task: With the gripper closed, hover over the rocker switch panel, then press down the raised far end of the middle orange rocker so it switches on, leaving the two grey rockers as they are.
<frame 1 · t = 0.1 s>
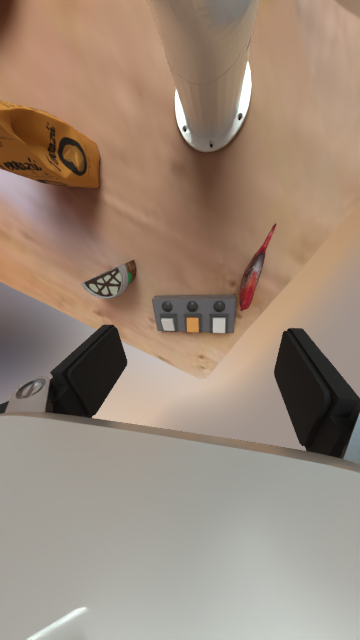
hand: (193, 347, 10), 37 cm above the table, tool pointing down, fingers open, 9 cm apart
decorative bird figurine: (250, 264, 41), on the table
rocker 1: (168, 324, 49), point 4 cm above the table, hinge at 15.0°
rocker 2: (219, 325, 46), point 4 cm above the table, hinge at -15.0°
food container: (125, 276, 49), on the table
coffee package: (77, 163, 38), on the table
middle rocker: (192, 324, 47), point 4 cm above the table, hinge at -15.0°
rocker switch panel: (194, 311, 50), on the table
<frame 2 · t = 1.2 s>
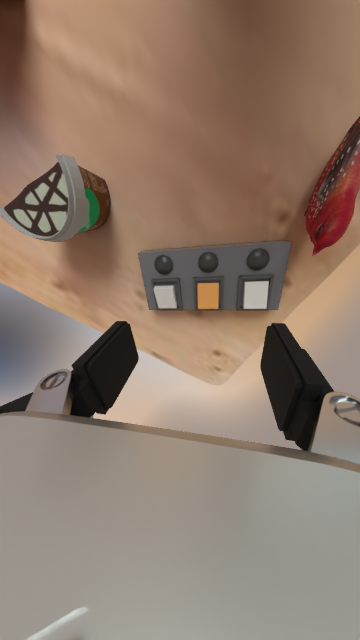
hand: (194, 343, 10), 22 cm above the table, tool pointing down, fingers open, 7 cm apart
decorative bird figurine: (323, 171, 21), on the table
rocker 1: (165, 297, 29), point 4 cm above the table, hinge at 15.0°
rocker 2: (255, 295, 26), point 4 cm above the table, hinge at -15.0°
food container: (94, 215, 29), on the table
middle rocker: (208, 295, 27), point 4 cm above the table, hinge at -15.0°
rocker switch panel: (209, 276, 30), on the table
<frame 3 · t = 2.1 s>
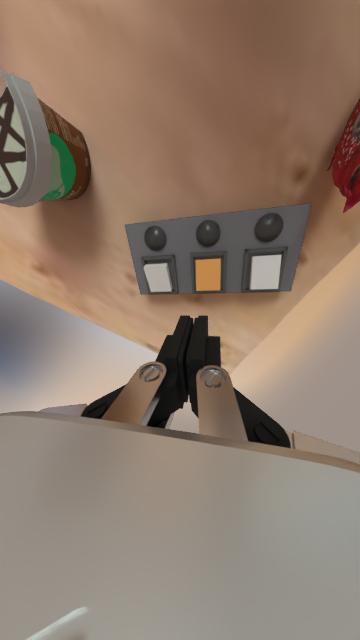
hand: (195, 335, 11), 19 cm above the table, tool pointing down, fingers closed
decorative bird figurine: (356, 107, 17), on the table
rocker 1: (158, 278, 25), point 4 cm above the table, hinge at 15.0°
rocker 2: (264, 272, 22), point 4 cm above the table, hinge at -15.0°
food container: (72, 181, 24), on the table
middle rocker: (208, 275, 23), point 4 cm above the table, hinge at -15.0°
rocker switch panel: (209, 254, 26), on the table
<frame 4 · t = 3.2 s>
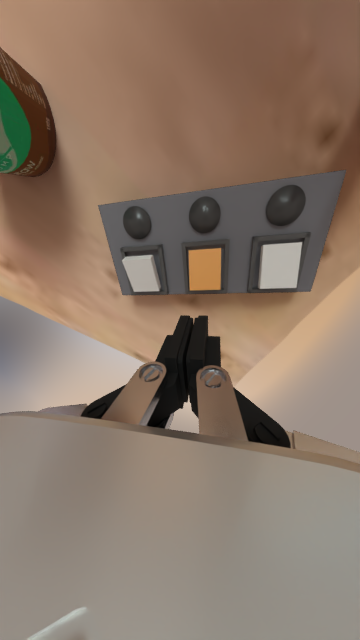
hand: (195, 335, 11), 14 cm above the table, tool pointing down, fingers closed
rocker 1: (142, 274, 19), point 4 cm above the table, hinge at 15.0°
rocker 2: (278, 266, 17), point 4 cm above the table, hinge at -15.0°
food container: (35, 152, 19), on the table
middle rocker: (204, 270, 18), point 4 cm above the table, hinge at -15.0°
rocker switch panel: (206, 245, 21), on the table
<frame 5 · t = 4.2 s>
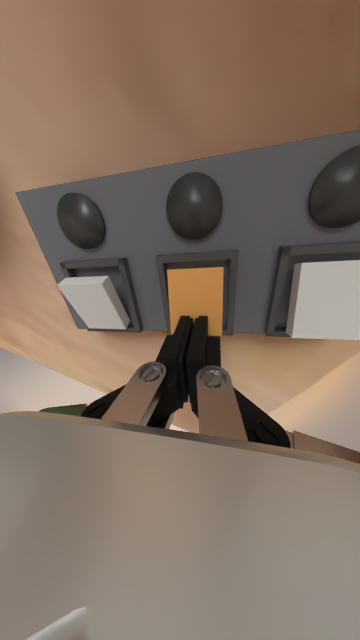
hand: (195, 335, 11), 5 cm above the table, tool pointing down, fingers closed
rocker 1: (97, 305, 12), point 4 cm above the table, hinge at 15.0°
rocker 2: (326, 301, 9), point 4 cm above the table, hinge at -15.0°
middle rocker: (195, 302, 11), point 4 cm above the table, hinge at -14.7°, touching gripper
rocker switch panel: (200, 256, 13), on the table
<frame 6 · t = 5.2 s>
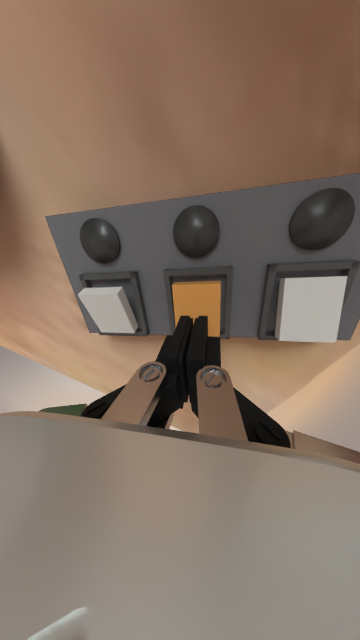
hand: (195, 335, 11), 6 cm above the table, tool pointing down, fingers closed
rocker 1: (110, 311, 14), point 4 cm above the table, hinge at 15.0°
rocker 2: (307, 309, 11), point 4 cm above the table, hinge at -15.0°
middle rocker: (197, 310, 12), point 4 cm above the table, hinge at -4.2°
rocker switch panel: (201, 269, 15), on the table
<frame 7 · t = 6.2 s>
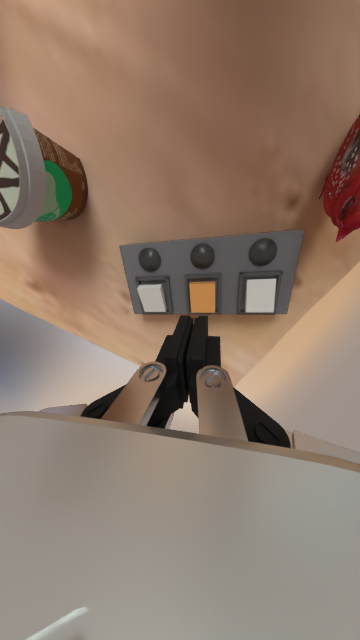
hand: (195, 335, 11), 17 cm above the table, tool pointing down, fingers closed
decorative bird figurine: (343, 142, 17), on the table
rocker 1: (152, 298, 24), point 4 cm above the table, hinge at 15.0°
rocker 2: (259, 295, 21), point 4 cm above the table, hinge at -15.0°
food container: (69, 203, 25), on the table
middle rocker: (202, 297, 23), point 4 cm above the table, hinge at 3.4°
rocker switch panel: (204, 274, 26), on the table
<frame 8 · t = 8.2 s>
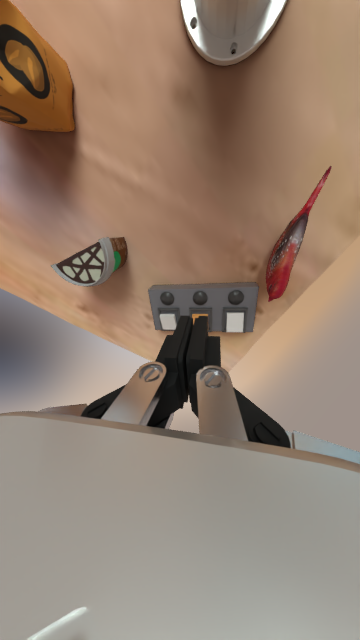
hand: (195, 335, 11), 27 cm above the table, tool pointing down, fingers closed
decorative bird figurine: (279, 240, 31), on the table
rocker 1: (168, 321, 38), point 4 cm above the table, hinge at 15.0°
rocker 2: (234, 322, 35), point 4 cm above the table, hinge at -15.0°
food container: (114, 260, 38), on the table
coffee package: (43, 98, 27), on the table
middle rocker: (200, 322, 37), point 4 cm above the table, hinge at 14.8°
rocker switch panel: (201, 305, 39), on the table
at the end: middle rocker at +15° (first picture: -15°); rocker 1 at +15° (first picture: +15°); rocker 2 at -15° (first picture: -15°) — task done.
